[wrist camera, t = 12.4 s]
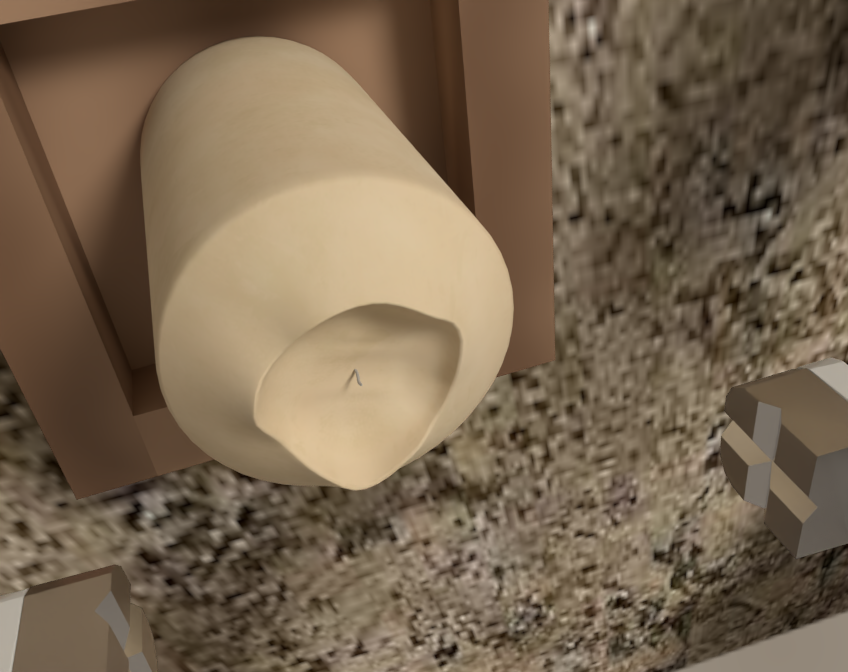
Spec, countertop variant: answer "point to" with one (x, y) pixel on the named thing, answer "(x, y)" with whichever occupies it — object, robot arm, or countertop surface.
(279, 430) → the candle
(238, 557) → the countertop surface
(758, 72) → the countertop surface
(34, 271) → the brown shallow square tray
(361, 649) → the countertop surface
